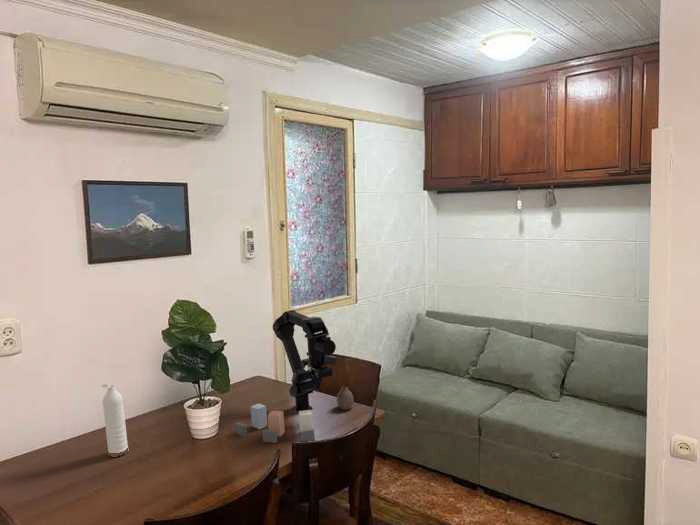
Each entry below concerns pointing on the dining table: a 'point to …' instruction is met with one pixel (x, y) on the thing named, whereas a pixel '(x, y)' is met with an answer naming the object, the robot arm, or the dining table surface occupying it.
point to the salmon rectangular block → (276, 422)
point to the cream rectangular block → (305, 419)
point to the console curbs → (274, 433)
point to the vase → (344, 399)
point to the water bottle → (114, 420)
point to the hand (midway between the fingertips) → (317, 388)
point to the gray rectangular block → (258, 416)
